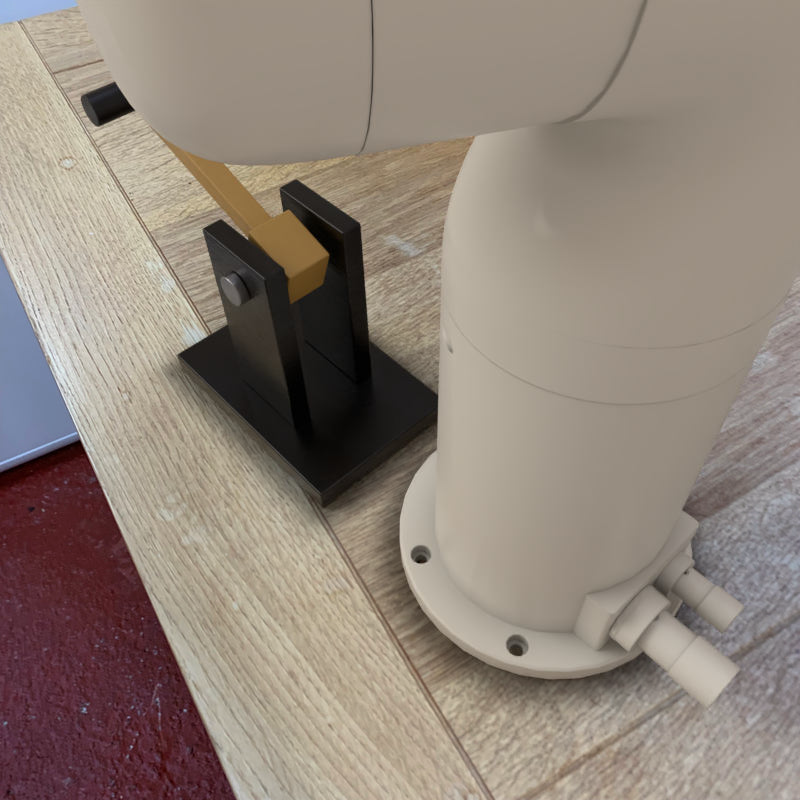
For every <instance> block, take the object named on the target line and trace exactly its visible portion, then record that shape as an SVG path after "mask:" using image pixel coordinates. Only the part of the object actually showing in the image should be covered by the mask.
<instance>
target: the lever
mask: <svg viewBox="0 0 800 800" xmlns="http://www.w3.org/2000/svg"><path fill="white" fill-rule="evenodd" d="M80 103H81V106H82V109H83V111H84V113H85V115H86V116H87V118H88V120H89V121H90V122H91V123H92V124H93V125H94V126H95V127H97V128H100V127H102V126H104V125H106V124H108V123H111V122H113V121H116V120H117V119H120V118H123V117H126V116H127V115H129V114H132V113H134V112H136V111H135V109H134V108H133V107H132V106H131V105H130V103H129V102H128V100H127V99H126V97H125V96H124V95H123V93H122V92H121V90H120V89H119V87H118V86H117V84H116V82H115V81H113V82H110V83H107V84H105V85H103V86H100V87H98V88H96V89H93V90H90V91H89V92H86V93H84V94H82V95H81V96H80ZM150 128H151V129H152V131H153V132H154V133H155V134H156V136H158V138H159V139H160V140H161V141H162V142H163V143H164V144H165V145H166V147H167V148H168V149H169V150H170V151H171V152H172V153H173V155H174V156H175V157H176V158H177V159H178V161H179V162H180V163H181V164H182V165H183V166H184V167H185V168H186V169H187V171H188V172H189V173H190V174H191V175H192V177H194V179H195V180H196V181H197V182H198V183H199V184H200V185H201V186H202V187H203V189H204V191H206V192H207V193H208V195H209V196H210V197H211V198H212V199H213V200H214V201H215V202H216V204H217V205H218V206H219V207H220V208H221V209H222V210H223V212H224V213H225V214H226V215H227V216H228V217H229V219H230V220H231V221H232V222H233V223H234V224H235V225H236V227H238V229H239V231H241V232H242V233H243V235H244V236H245V238H246V239H248V240H249V241H250V242H251V243H253V244H254V245H255V246H256V247H258V248H259V249H260V250H262V251H263V252H264V253H265V254H267V255H268V256H269V257H270V258H272V259H273V260H274V261H276V262H277V263H278V264H279V265H281V266H282V267H283V268H284V270H285V275H286V281H287V287H288V292H289V298H290V304H292V303H294V302H295V301H297V300H298V299H300V298H302V297H303V296H305V295H307V294H308V293H310V292H311V291H313V290H315V289H316V288H318V287H320V286H321V285H323V282H324V278H325V273H326V269H327V264H328V260H329V253H328V252H327V251H326V250H325V248H324V247H323V246H322V245H321V244H320V243H319V242H318V241H317V240H316V238H315V237H314V236H313V235H312V234H311V233H310V232H309V231H308V230H307V228H306V227H305V226H304V225H303V224H302V223H301V222H300V221H299V220H298V218H297V217H296V216H295V215H294V214H293V213H292V212H291V211H290V210H287V211H285V212H283V211H282V212H281V213H280V214H278V215H276V216H274V217H272V216H271V215H270V214H269V213H268V211H267V210H266V209H265V208H264V207H263V206H262V204H260V203H259V202H258V201H257V199H256V198H255V197H254V196H253V195H252V194H251V193H250V192H249V190H248V189H247V188H246V187H245V186H244V185H243V184H242V183H241V181H240V180H239V179H238V178H237V177H236V176H235V175H234V173H232V171H231V170H230V169H229V168H228V167H227V166H226V164H224V163H219V162H215V161H210V160H206V159H204V158H201V157H199V156H196V155H193V154H191V153H188V152H186V151H183V150H182V149H180V148H178V147H177V146H175V145H174V144H172V143H170V142H169V141H167V140H165V139H164V138H163V137H162V136H161V135H160V134H158V133H157V132H156V131H155V130H154V129H153V128H152V127H150Z"/></svg>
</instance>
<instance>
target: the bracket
mask: <svg viewBox="0 0 800 800" xmlns="http://www.w3.org/2000/svg"><path fill="white" fill-rule="evenodd" d="M278 190H279V196H280V203H281V209H282V213H283V212H285V211H287V210H290V211H291V212H292V213H293V214H294V215H295V216H296V217H297V218H298V220H299V221H300V222H301V223H302V224H303V225H304V226H305V227H306V228H307V230H308V231H309V232H310V233H311V234H312V235H313V236H314V237H315V238H316V240H317V241H318V242H319V243H320V244H321V245H322V246H323V247H324V248H325V250H326V251H327V252H328V253H329V260H328V264H327V269H326V273H325V278H324V282H323V285H321V286H320V287H318V288H316V289H315V290H313V291H311V292H310V293H308V294H307V295H305V296H303V297H302V298H300V299H298V300H297V301H295V302H294V303H292V304H290V298H289V292H288V287H287V281H286V275H285V270H284V268H283V267H282V266H281V265H279V264H278V263H277V262H276V261H274V260H273V259H272V258H270V257H269V256H268V255H267V254H265V253H264V252H263V251H262V250H260V249H259V248H258V247H256V246H255V245H254V244H253V243H251V242H250V241H249V240H248V238H247V237H246V236H245V235H243V234H241V233H240V232H239V231H238V230H236V229H235V228H234V227H232V226H231V225H230V224H229V223H228V222H226V221H225V220H223V219H222V218H219V219H217V220H216V221H214V222H211V223H210V224H208V225H206V226H204V227H203V228H202V233H203V238H204V241H205V244H206V249H207V252H208V256H209V259H210V264H211V267H212V271H213V275H214V279H215V281H216V286H217V290H218V293H219V297H220V301H221V304H222V309H223V310H224V311H223V312H224V315H225V319H226V324H225V325H224V326H222V327H221V328H219V329H217V330H215V331H214V332H213V333H211V334H209V335H207V336H205V337H204V338H202V339H200V340H199V341H198V342H196V343H194V344H192V345H191V346H189V347H187V348H185V349H184V350H182V351H181V352H179V353H178V354H177V355H176V356H177V359H178V363H179V365H180V368H181V370H182V371H183V372H184V373H185V375H187V377H189V378H190V379H191V380H192V381H193V382H194V383H195V384H196V385H197V386H198V387H199V388H200V389H201V390H202V391H203V392H204V393H205V394H206V395H207V396H208V397H209V398H211V400H212V401H214V403H215V404H216V405H217V406H218V407H219V408H221V410H223V412H225V414H226V415H228V416H229V417H230V418H231V419H232V420H233V421H234V422H235V423H236V424H237V425H238V426H239V427H240V428H241V429H242V430H243V432H245V433H246V434H247V435H248V436H249V437H250V438H251V439H252V440H253V441H254V443H256V444H257V445H258V446H259V447H260V448H261V449H262V450H263V451H264V452H265V453H266V454H267V455H268V456H269V457H270V458H271V459H272V460H273V461H274V462H275V463H276V464H277V465H278V466H279V467H280V468H281V469H282V470H283V471H284V472H286V474H288V475H289V476H290V478H292V479H293V480H294V482H296V483H297V484H298V486H300V487H301V488H302V489H303V490H304V491H305V492H306V494H308V495H309V496H310V497H311V498H312V499H313V500H314V502H316V503H317V504H318V505H319V506H320V508H322V509H325V508H327V507H328V506H329V505H330V504H331V503H333V502H334V501H336V500H337V499H338V498H339V497H341V496H342V495H343V494H344V493H346V492H347V491H349V490H350V489H351V488H352V487H354V486H355V485H356V484H358V483H359V482H360V481H362V480H364V479H365V478H366V477H367V476H368V475H369V474H371V473H372V472H374V471H375V470H376V469H377V468H379V467H380V466H381V465H382V464H383V463H385V462H386V461H388V460H389V459H390V458H391V457H393V456H394V455H396V454H397V453H398V452H399V451H401V450H402V449H403V448H404V447H406V446H407V445H408V444H410V443H411V442H412V441H414V440H415V439H416V438H417V437H419V436H420V435H421V434H423V433H424V432H425V431H426V430H428V429H430V428H431V427H432V426H433V425H434V424H435V423H438V394H437V393H436V392H435V391H434V390H433V389H431V388H430V386H427V385H426V384H425V383H424V382H422V381H421V380H420V379H419V378H418V377H416V376H415V375H414V374H413V373H411V372H410V371H409V370H407V369H406V368H405V367H403V366H402V365H401V364H400V363H398V361H396V360H395V359H393V358H392V357H391V356H390V355H388V354H387V353H386V352H385V351H384V350H382V349H381V348H380V347H378V346H377V345H375V344H374V343H373V342H372V341H371V340H370V332H369V331H370V330H369V320H368V319H369V317H368V307H367V306H368V305H367V303H368V302H367V292H366V291H367V289H366V279H365V276H366V275H365V263H364V250H363V239H362V225H361V223H360V222H359V221H358V220H356V219H355V218H353V217H352V216H351V215H349V214H348V213H346V212H345V211H343V210H342V209H340V208H339V207H338V206H336V205H335V204H333V202H331V201H329V200H328V199H326V198H324V197H323V196H321V194H319V193H318V192H316V191H314V190H313V189H311V188H310V187H309V186H307V185H305V184H304V183H303V182H302V181H300V180H299V179H296V178H295V179H293V180H291V181H289V182H287V183H285V184H283V185H282V186H280V187H279V188H278Z"/></svg>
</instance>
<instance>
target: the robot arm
mask: <svg viewBox="0 0 800 800" xmlns="http://www.w3.org/2000/svg"><path fill="white" fill-rule="evenodd" d="M75 2H76V5H77V7H78V9H79V12H80V15H81V17H82V19H83V21H84V24H85V26H86V29H87V30H88V34H89V36H90V37H91V39H92V42H93V43H94V45H95V47H96V49H97V51H98V52H99V54H100V56H101V58H102V60H103V62H104V64H105V65H106V68H107V70H108V71H109V74H110V75H111V78H113V82H116V84H117V86H118V87H119V89H120V90H121V92H122V93H123V95H124V96H125V97H126V99H127V100H128V102H129V103H130V105H131V106H132V107H133V108H134V109H135V111H134V112H136V113H137V114H138V115H139V117H140V118H141V119H142V120H143V121H144V122H145V123H146V125H148V126H149V128H151V127H152V128H153V129H154V130H155V131H156V132H157V133H158V134H160V135H161V136H162V137H163V138H164V139H165V140H167V141H169V142H170V143H172V144H174V145H175V146H177V147H178V148H180V149H182V150H183V151H186V152H188V153H191V154H193V155H196V156H199V157H201V158H204V159H206V160H210V161H215V162H219V163H223V164H224V165H232V166H233V165H234V166H246V167H257V166H259V167H260V166H262V167H263V166H280V165H291V164H301V163H311V162H319V161H326V160H332V159H338V158H346V157H351V156H355V157H359V156H365V155H372V154H377V153H382V152H389V151H395V150H400V149H407V148H413V147H418V146H424V145H430V144H435V143H442V142H447V141H448V142H449V141H454V140H460V139H465V138H471V137H474V139H473V141H472V142H471V145H470V146H469V148H468V151H467V152H466V155H465V157H464V159H463V162H462V165H461V166H460V169H459V172H458V175H457V177H456V180H455V182H454V186H453V189H452V191H451V194H450V198H449V202H448V206H447V211H446V215H445V220H444V225H443V233H442V240H441V242H442V243H441V260H440V261H441V262H440V263H441V265H440V310H439V311H440V313H439V314H440V315H439V322H440V323H439V351H438V352H439V353H438V354H439V355H438V356H439V357H438V390H437V391H438V392H437V393H438V394H437V395H438V421H437V434H436V435H437V436H436V438H437V439H436V450H435V451H433V452H432V453H431V454H430V455H428V457H427V458H426V459H425V461H424V462H423V463H422V465H421V466H420V467H419V468H418V470H417V471H416V472H415V474H414V475H413V478H412V479H411V480H412V481H411V482H410V484H409V486H408V488H407V491H406V492H405V494H404V499H403V503H402V508H401V512H400V516H399V547H400V559H401V565H402V567H403V570H404V574H405V577H406V581H407V583H408V587H409V588H410V590H411V592H412V594H413V596H414V598H415V599H416V601H417V603H418V605H419V606H420V609H421V610H422V612H423V613H424V614H425V615H426V616H427V618H428V619H429V620H430V621H431V622H432V623H433V625H434V626H435V628H437V629H438V630H439V632H440V633H441V634H443V635H444V636H445V637H446V638H447V639H449V640H450V641H451V642H452V643H453V644H454V645H456V646H457V647H458V648H459V649H460V650H462V651H463V652H466V653H467V654H469V655H471V656H473V657H474V658H476V659H478V660H480V661H482V662H483V663H485V664H487V665H489V666H491V667H494V668H497V669H500V670H503V671H506V672H509V673H512V674H515V675H518V676H523V677H529V678H530V677H532V678H537V679H543V680H544V679H545V680H564V679H565V680H568V679H570V680H571V679H582V678H586V677H590V676H594V675H599V674H602V673H606V672H610V671H611V670H614V669H616V668H618V667H621V666H622V665H625V664H626V663H629V662H631V661H633V660H634V659H636V658H637V657H639V656H640V655H641V654H642V653H644V654H645V655H647V657H649V658H650V659H651V660H653V661H654V662H655V663H656V664H657V665H658V666H659V667H661V669H663V670H664V671H665V672H666V673H667V674H666V676H668V677H669V678H670V679H671V680H673V681H674V682H675V683H676V684H677V685H678V686H680V687H681V688H682V689H683V690H684V691H685V692H686V693H688V694H689V695H690V696H691V697H692V698H693V699H694V700H696V701H697V702H698V703H699V704H700V705H702V706H703V707H704V708H705V709H706V710H709V708H710V707H711V706H712V705H713V704H714V703H715V701H716V700H717V699H718V698H719V696H720V695H721V694H722V693H723V692H724V690H725V689H726V688H727V687H728V685H730V683H731V682H732V681H733V679H734V678H735V677H736V676H737V674H738V673H740V671H741V669H742V667H740V666H739V665H738V664H737V663H736V662H734V661H733V660H732V659H731V658H729V657H728V656H727V655H726V654H724V653H723V652H722V651H721V650H720V649H718V648H717V647H715V645H713V644H712V643H711V642H710V641H708V640H707V639H706V638H705V637H704V636H702V635H701V634H699V635H697V634H696V633H694V632H693V631H692V630H691V629H690V628H689V627H687V626H686V625H685V624H684V623H683V622H681V620H679V619H677V618H676V617H675V616H676V614H677V612H678V611H679V609H680V607H681V606H682V604H683V602H684V604H685V605H687V606H689V607H690V608H691V609H692V610H694V613H695V614H696V615H697V616H698V617H700V619H702V620H703V621H704V622H705V623H706V624H708V625H710V626H711V627H712V628H713V629H715V630H716V631H717V632H718V633H720V635H724V634H725V633H726V632H727V630H728V629H729V628H730V627H731V626H732V624H733V623H734V622H735V621H736V619H737V618H738V617H739V616H740V615H741V613H742V612H743V611H744V609H746V606H745V605H744V604H742V602H740V601H739V600H738V599H736V598H735V597H734V596H733V595H731V594H730V593H729V592H727V591H726V590H725V589H723V588H722V587H721V586H720V585H718V584H714V583H713V582H712V581H710V580H709V579H708V578H707V577H705V576H704V575H702V574H701V573H700V572H699V571H697V570H696V569H695V568H694V566H695V565H696V560H694V559H693V550H692V549H693V548H692V540H693V538H694V536H695V534H696V532H697V530H698V528H699V527H700V522H699V521H698V520H697V519H695V518H694V517H693V516H692V515H691V514H689V513H687V512H686V511H685V510H683V509H684V506H685V504H686V503H687V501H688V498H689V496H690V494H691V492H692V490H693V489H694V486H695V484H696V482H697V480H698V478H699V475H700V473H701V471H702V469H703V467H704V466H705V463H706V461H707V459H708V457H709V455H710V453H711V451H712V449H713V447H714V445H715V443H716V441H717V439H718V437H719V435H720V432H721V431H722V428H723V426H724V424H725V422H726V420H727V418H728V416H729V413H730V412H731V410H732V408H733V405H734V403H735V402H736V399H737V397H738V395H739V393H740V391H741V389H742V387H743V385H744V383H745V381H746V379H747V377H748V375H749V373H750V370H751V368H752V366H753V364H754V362H755V360H756V358H757V356H758V354H759V352H760V350H761V348H762V347H763V346H764V344H765V342H766V340H767V338H768V336H769V333H770V332H771V329H772V327H773V325H774V323H775V321H776V319H777V317H778V315H779V313H780V311H781V309H782V307H783V305H784V303H785V301H786V299H787V297H788V295H789V293H790V291H791V289H792V288H793V286H794V283H795V282H796V279H797V277H798V275H799V274H800V0H75ZM152 128H151V129H152ZM153 129H152V130H153ZM154 130H153V131H154ZM419 561H424V563H418V562H419ZM513 649H515V650H518V651H520V653H521V655H515V654H513V653H511V650H513Z"/></svg>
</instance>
